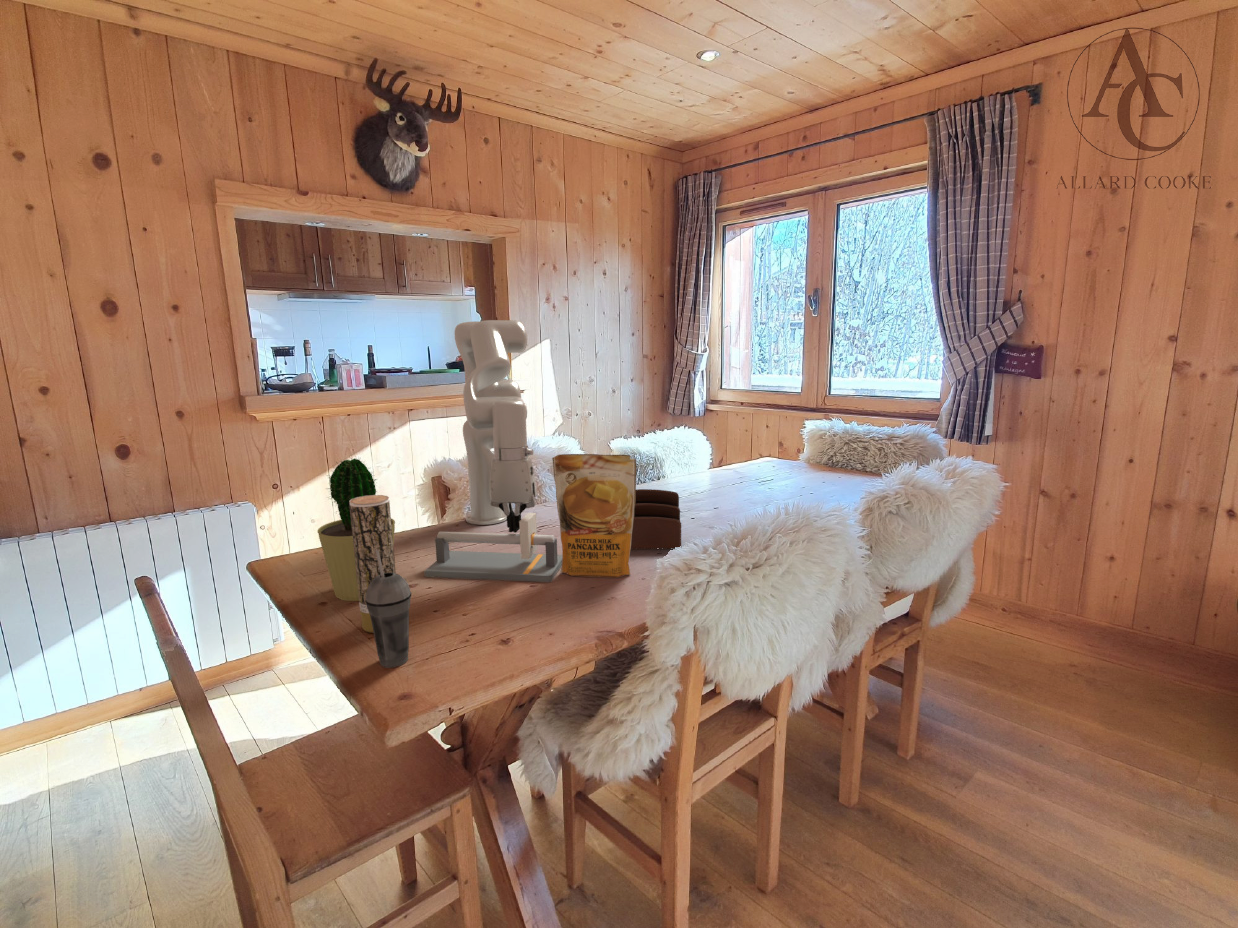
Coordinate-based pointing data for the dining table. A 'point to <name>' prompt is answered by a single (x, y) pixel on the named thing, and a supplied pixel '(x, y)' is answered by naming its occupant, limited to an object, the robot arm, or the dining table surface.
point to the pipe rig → (494, 559)
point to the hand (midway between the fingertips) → (514, 530)
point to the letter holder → (656, 520)
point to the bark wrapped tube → (371, 544)
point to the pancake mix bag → (595, 512)
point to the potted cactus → (345, 526)
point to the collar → (527, 535)
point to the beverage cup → (389, 616)
